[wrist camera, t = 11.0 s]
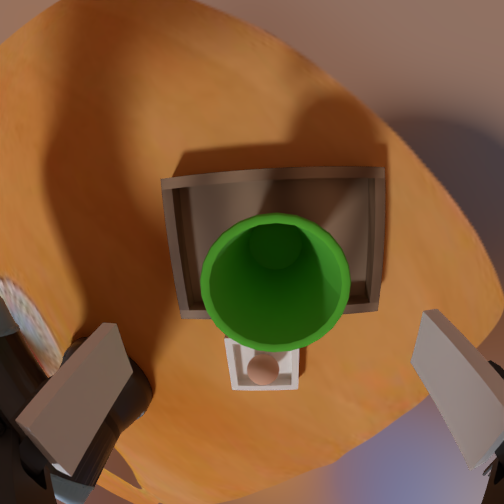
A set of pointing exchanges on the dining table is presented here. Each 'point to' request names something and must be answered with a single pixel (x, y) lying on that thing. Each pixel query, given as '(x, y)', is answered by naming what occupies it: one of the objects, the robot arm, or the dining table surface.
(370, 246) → the tray
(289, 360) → the dish
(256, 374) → the ball
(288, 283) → the cup
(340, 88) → the dining table surface
